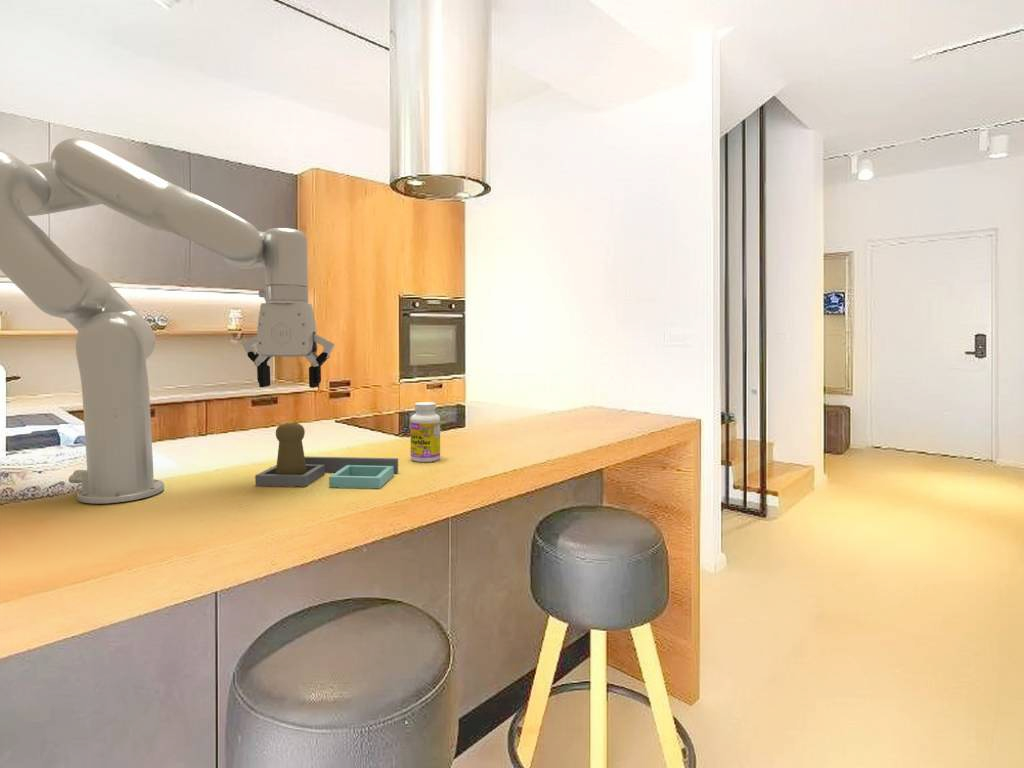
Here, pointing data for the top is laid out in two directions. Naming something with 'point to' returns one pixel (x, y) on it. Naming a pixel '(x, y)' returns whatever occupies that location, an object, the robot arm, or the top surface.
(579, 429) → the top surface
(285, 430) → the cork
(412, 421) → the supplement bottle
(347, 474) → the panel
